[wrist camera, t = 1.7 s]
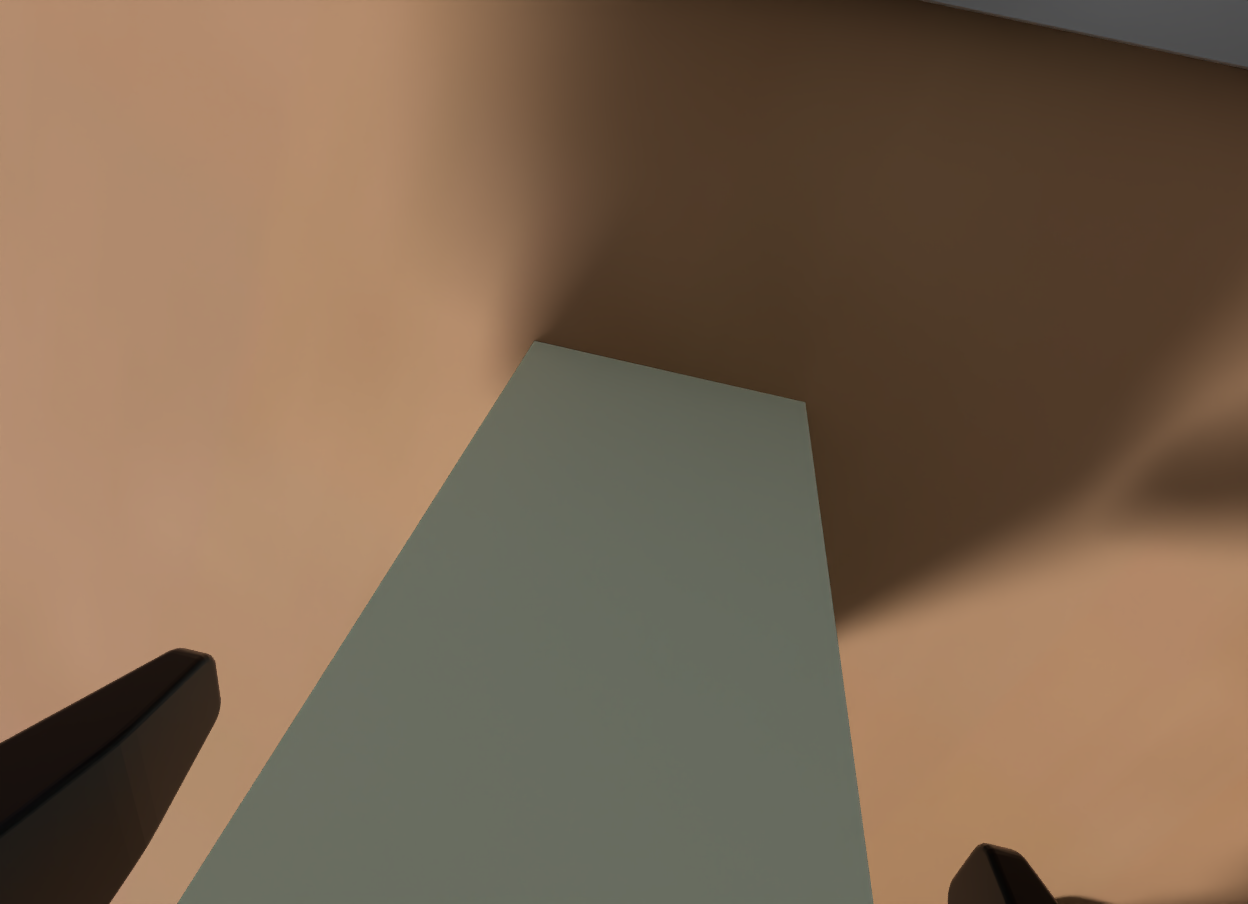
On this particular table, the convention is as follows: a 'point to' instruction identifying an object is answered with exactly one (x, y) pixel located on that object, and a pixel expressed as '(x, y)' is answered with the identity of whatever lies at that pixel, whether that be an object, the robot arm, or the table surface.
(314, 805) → the key block
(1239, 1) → the socket tray
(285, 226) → the table surface
